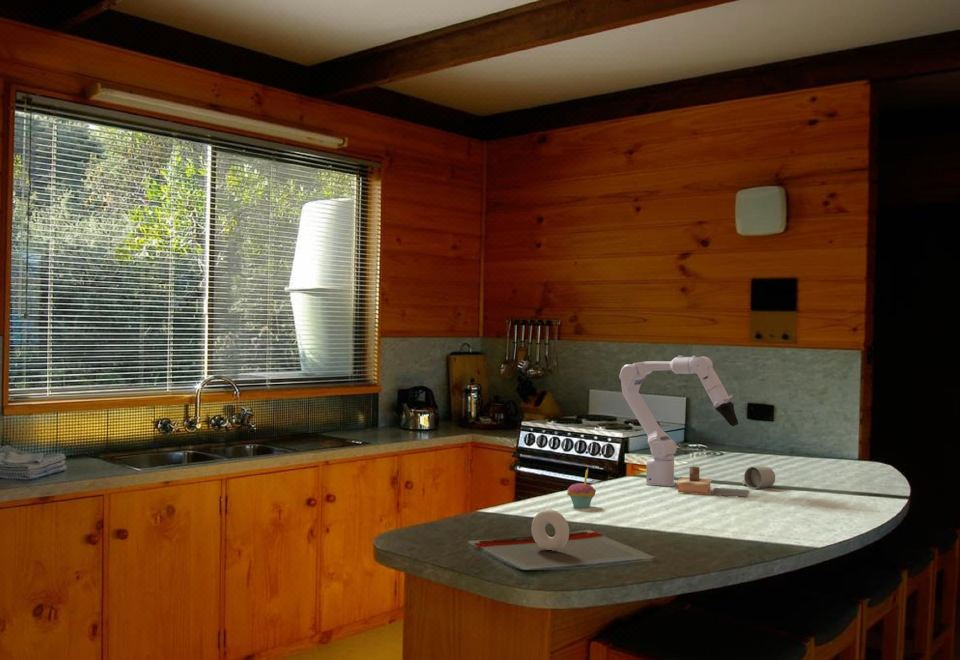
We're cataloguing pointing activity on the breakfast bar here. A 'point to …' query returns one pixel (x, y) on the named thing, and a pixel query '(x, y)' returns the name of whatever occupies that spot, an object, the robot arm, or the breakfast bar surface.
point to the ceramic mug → (759, 477)
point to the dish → (693, 489)
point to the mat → (730, 492)
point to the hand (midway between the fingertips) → (734, 424)
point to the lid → (694, 478)
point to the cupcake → (581, 493)
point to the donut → (559, 525)
